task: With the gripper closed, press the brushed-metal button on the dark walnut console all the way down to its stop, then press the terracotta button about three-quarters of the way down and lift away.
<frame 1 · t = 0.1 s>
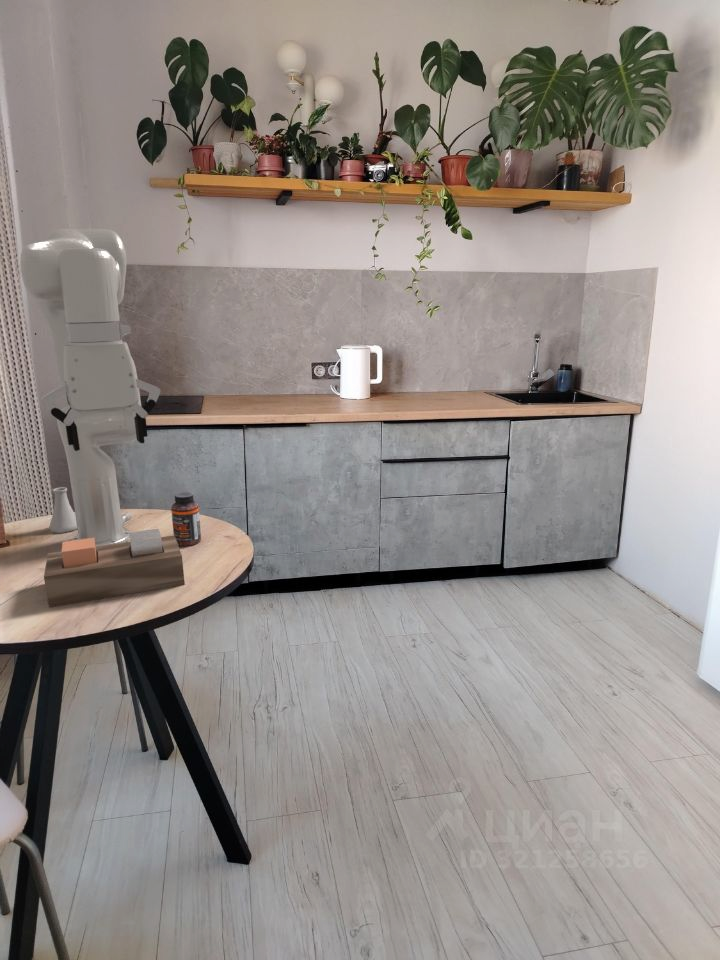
hand: (109, 445, 106), 31 cm above the table, tool pointing down, fingers open, 9 cm apart
supplement bottle: (188, 542, 151), on the table
metal button: (146, 547, 131), point 6 cm above the table, slide at 0.0 cm
button console: (117, 583, 130), on the table
flask: (65, 529, 162), on the table
terracotta button: (80, 556, 126), point 6 cm above the table, slide at 0.0 cm
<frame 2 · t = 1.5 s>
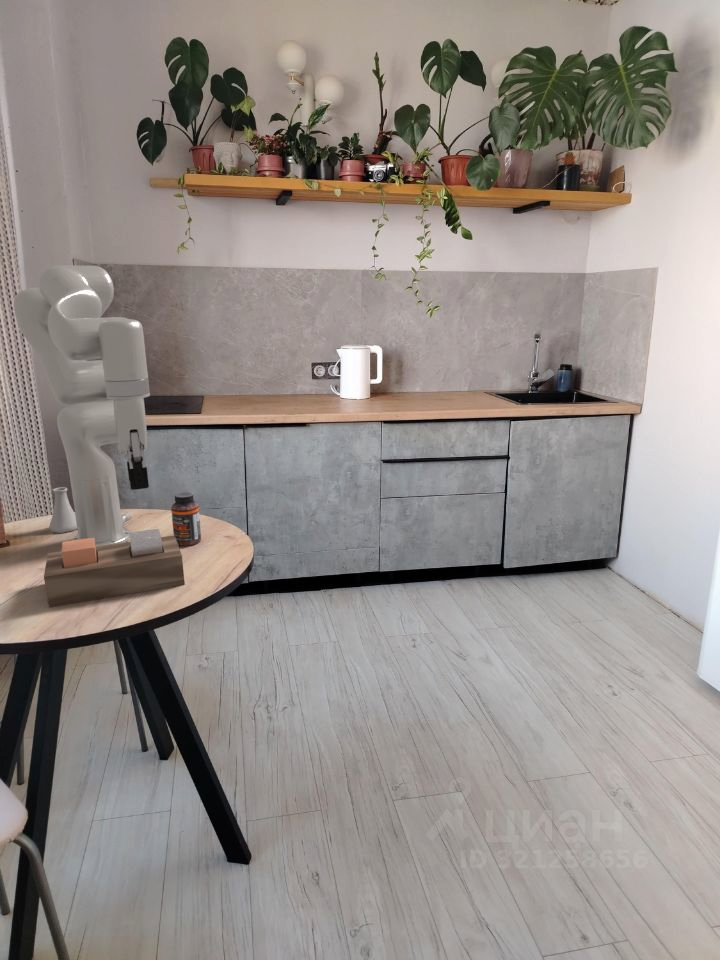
hand: (138, 483, 127), 19 cm above the table, tool pointing down, fingers open, 4 cm apart
nothing on the table moved.
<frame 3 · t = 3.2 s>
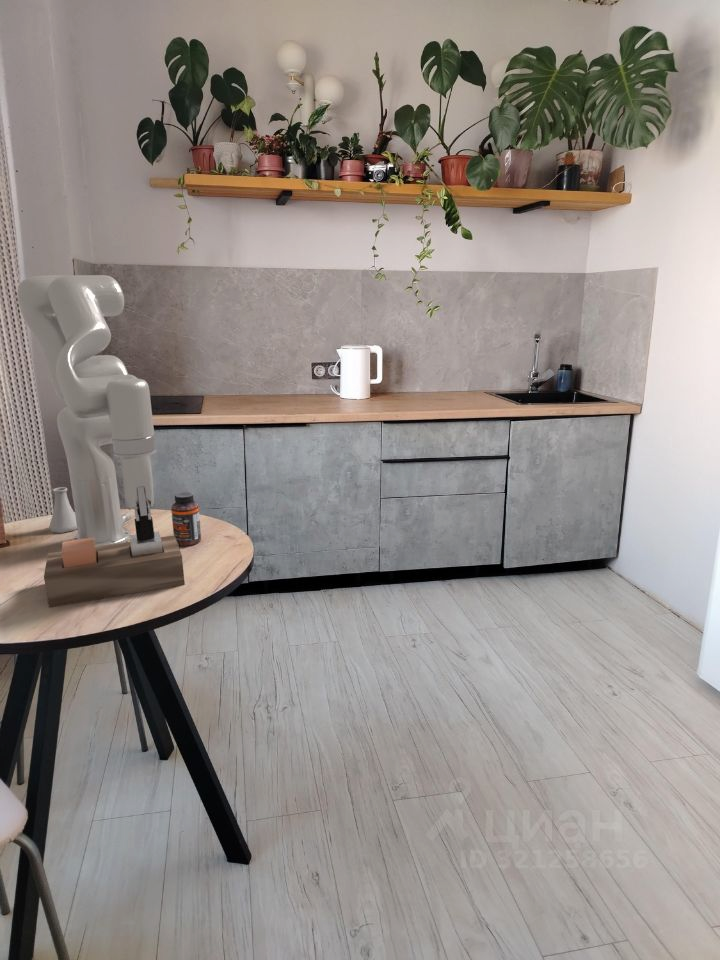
hand: (145, 538, 130), 8 cm above the table, tool pointing down, fingers closed
metal button: (146, 550, 131), point 6 cm above the table, slide at 0.6 cm, touching gripper
everything else where it was.
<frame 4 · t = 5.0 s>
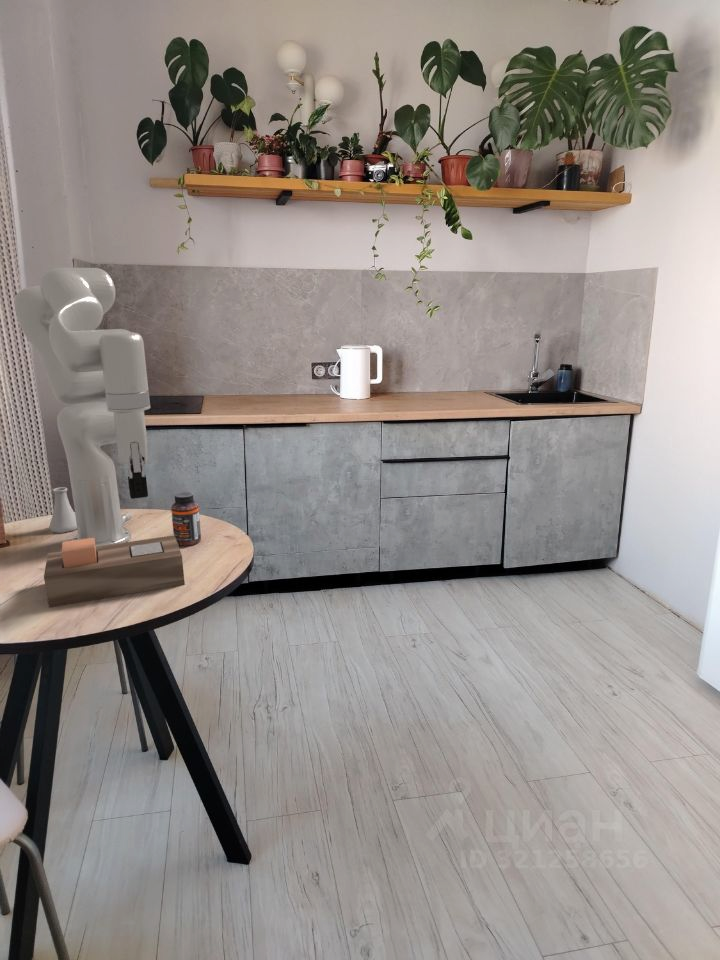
hand: (139, 496, 128), 17 cm above the table, tool pointing down, fingers closed
metal button: (147, 560, 131), point 4 cm above the table, slide at 2.9 cm
everything else where it was.
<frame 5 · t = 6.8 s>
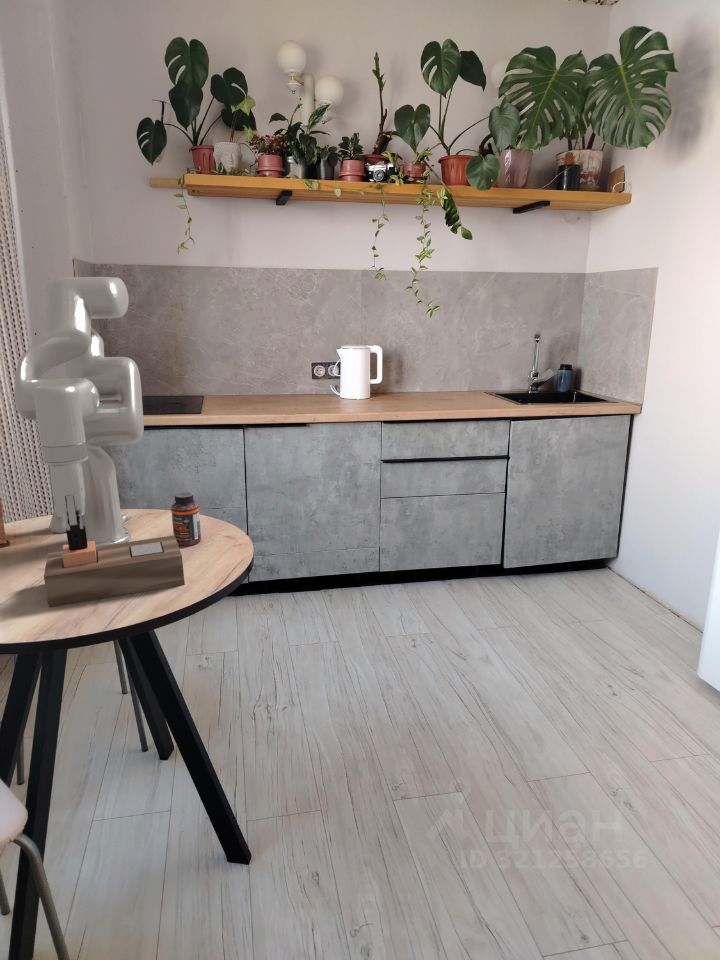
hand: (78, 548, 126), 8 cm above the table, tool pointing down, fingers closed
terracotta button: (80, 560, 127), point 6 cm above the table, slide at 0.7 cm, touching gripper
everything else where it was.
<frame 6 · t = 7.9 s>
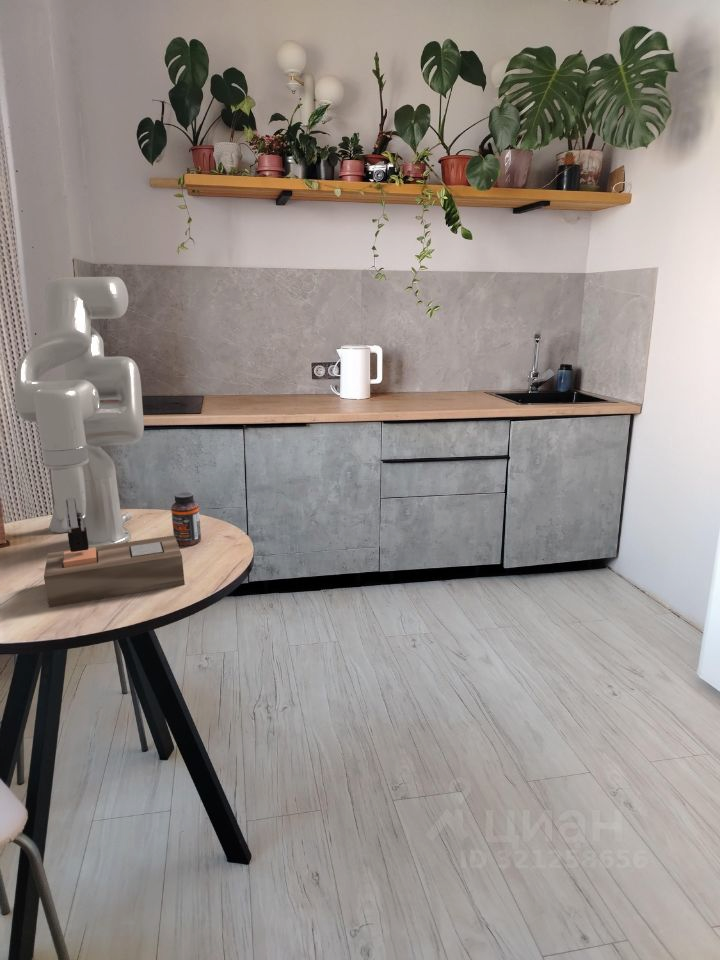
hand: (79, 549, 127), 8 cm above the table, tool pointing down, fingers closed
terracotta button: (81, 566, 127), point 4 cm above the table, slide at 2.0 cm
everything else where it was.
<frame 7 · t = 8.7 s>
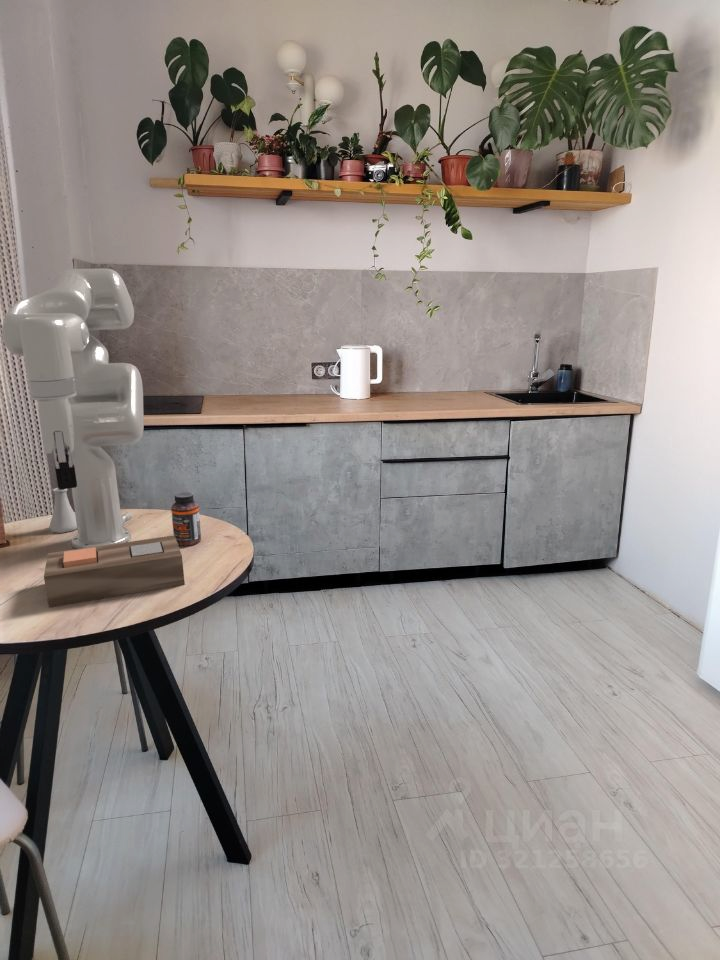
hand: (67, 487, 124), 20 cm above the table, tool pointing down, fingers closed
nothing on the table moved.
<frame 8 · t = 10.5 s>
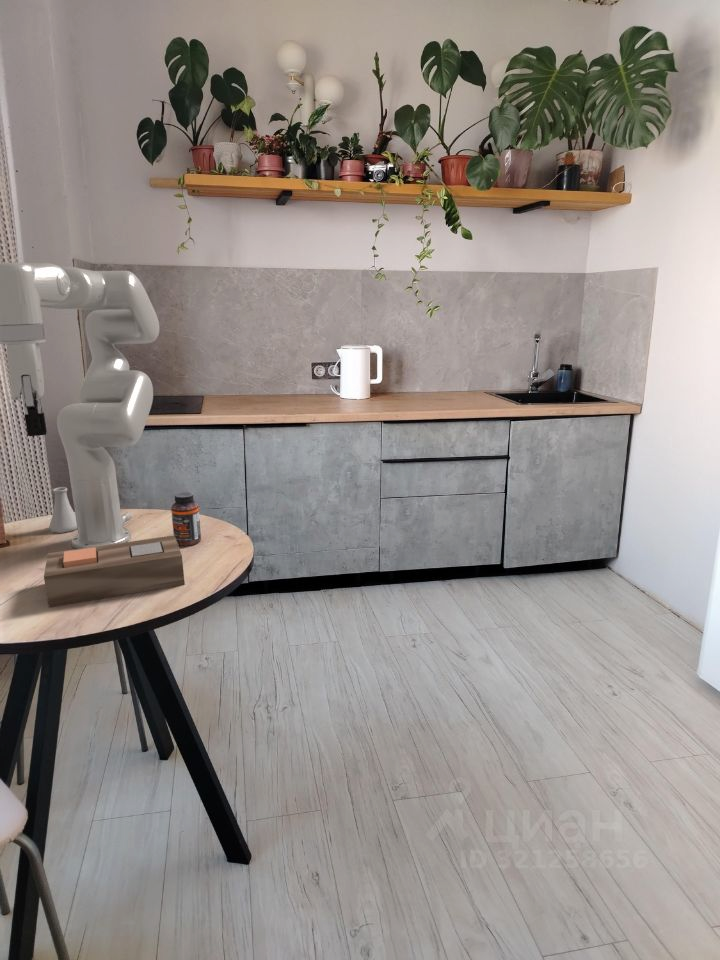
hand: (37, 434, 125), 29 cm above the table, tool pointing down, fingers closed
nothing on the table moved.
at the end: metal button slide at 2.9 cm; terracotta button slide at 2.0 cm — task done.
